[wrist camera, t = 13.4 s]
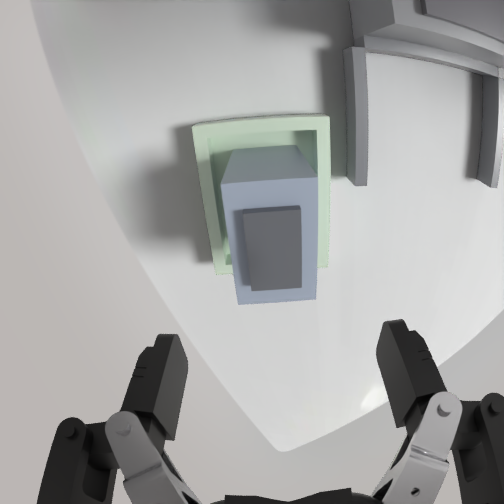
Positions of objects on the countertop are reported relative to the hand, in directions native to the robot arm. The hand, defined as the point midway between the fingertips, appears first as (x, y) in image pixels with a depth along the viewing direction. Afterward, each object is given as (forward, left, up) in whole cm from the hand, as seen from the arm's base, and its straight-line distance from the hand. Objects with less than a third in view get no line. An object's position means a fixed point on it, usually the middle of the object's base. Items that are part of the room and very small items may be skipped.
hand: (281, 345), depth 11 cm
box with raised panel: (0, 0, -16) cm, 16 cm away
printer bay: (-15, -10, -17) cm, 25 cm away
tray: (0, 0, -17) cm, 17 cm away
